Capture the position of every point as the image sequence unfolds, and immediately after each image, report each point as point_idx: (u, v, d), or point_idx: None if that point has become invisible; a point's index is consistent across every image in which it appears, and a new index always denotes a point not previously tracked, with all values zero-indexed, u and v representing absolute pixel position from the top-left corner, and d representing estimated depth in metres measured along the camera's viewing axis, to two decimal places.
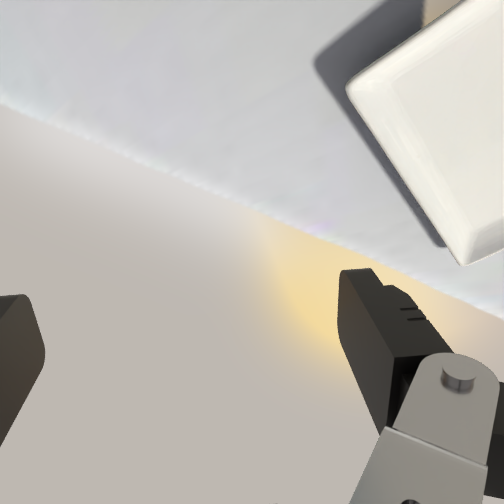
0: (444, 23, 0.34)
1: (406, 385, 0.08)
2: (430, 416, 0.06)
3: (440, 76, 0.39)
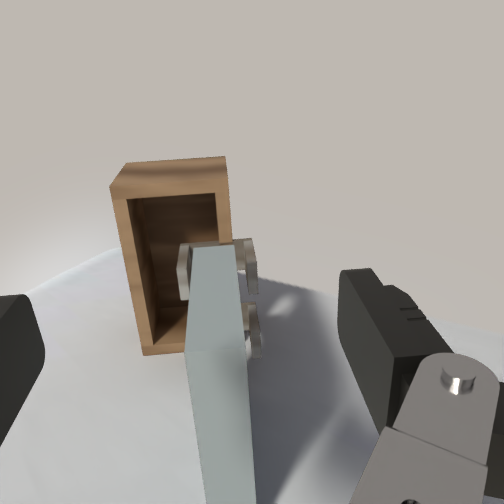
0: None
1: (406, 385, 0.08)
2: (430, 416, 0.06)
3: None
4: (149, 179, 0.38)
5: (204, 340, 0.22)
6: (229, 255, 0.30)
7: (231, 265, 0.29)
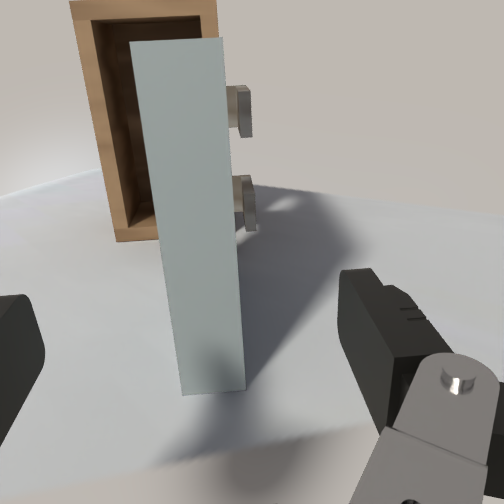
0: None
1: (406, 385, 0.08)
2: (430, 416, 0.06)
3: None
4: None
5: None
6: None
7: None
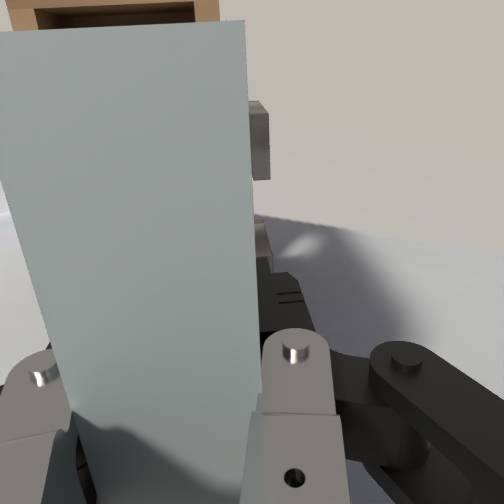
0: None
1: (261, 357, 0.09)
2: None
3: None
4: None
5: None
6: None
7: None
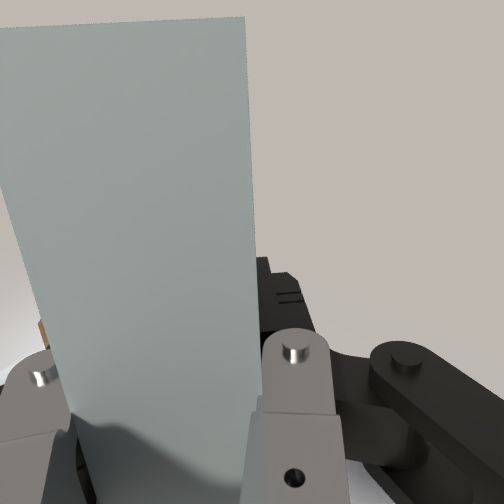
0: None
1: (262, 358, 0.09)
2: None
3: None
4: None
5: None
6: None
7: None
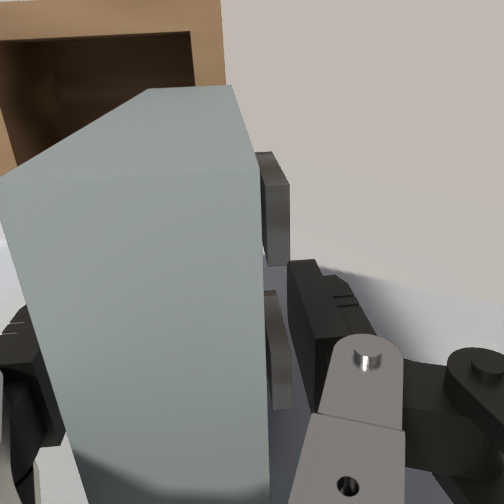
0: None
1: (326, 364, 0.08)
2: (333, 388, 0.07)
3: None
4: None
5: (97, 160, 0.06)
6: (219, 89, 0.14)
7: (222, 93, 0.13)
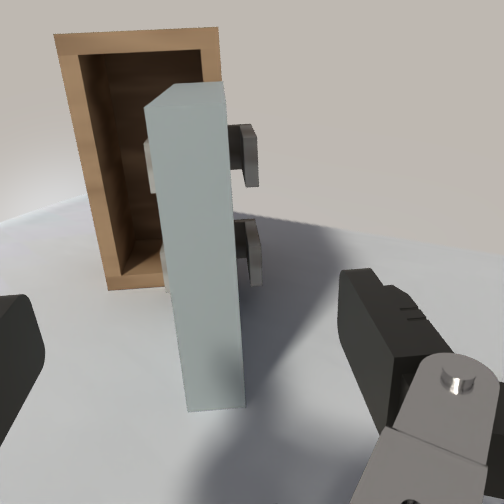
0: None
1: (406, 385, 0.08)
2: (430, 416, 0.06)
3: None
4: None
5: (172, 103, 0.17)
6: (215, 83, 0.25)
7: (217, 85, 0.24)
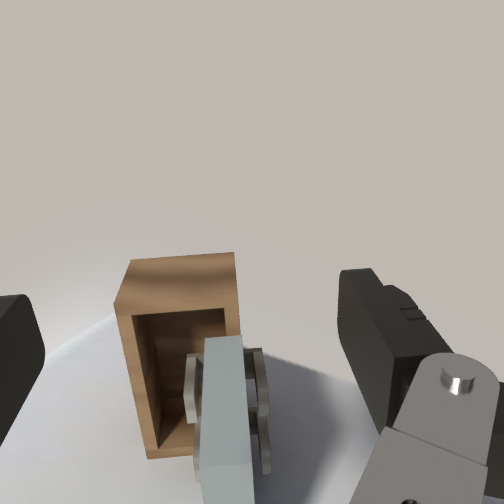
0: None
1: (406, 385, 0.08)
2: (430, 416, 0.06)
3: None
4: (155, 292, 0.36)
5: (216, 453, 0.25)
6: (237, 348, 0.34)
7: (239, 361, 0.32)
